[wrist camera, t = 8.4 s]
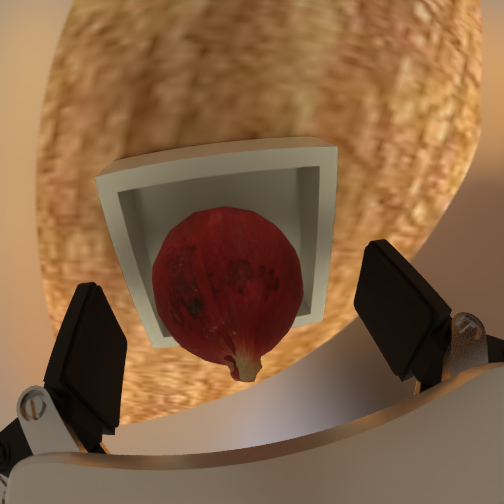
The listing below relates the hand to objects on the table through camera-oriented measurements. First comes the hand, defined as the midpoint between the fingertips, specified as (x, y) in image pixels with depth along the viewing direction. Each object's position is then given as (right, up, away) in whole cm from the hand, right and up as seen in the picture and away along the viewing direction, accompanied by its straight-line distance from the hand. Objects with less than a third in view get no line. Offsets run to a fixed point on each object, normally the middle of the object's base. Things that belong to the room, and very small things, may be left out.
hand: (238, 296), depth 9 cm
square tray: (-1, +2, +5) cm, 6 cm away
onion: (-1, +2, +5) cm, 5 cm away
